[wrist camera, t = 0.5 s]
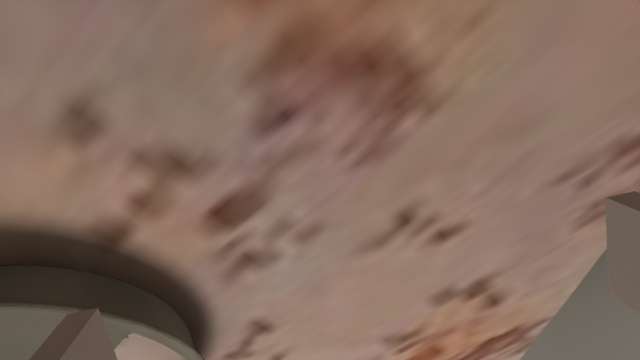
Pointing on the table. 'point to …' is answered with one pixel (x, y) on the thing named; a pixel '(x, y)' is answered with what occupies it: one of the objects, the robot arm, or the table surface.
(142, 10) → the table surface
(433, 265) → the table surface
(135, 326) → the cake pan
